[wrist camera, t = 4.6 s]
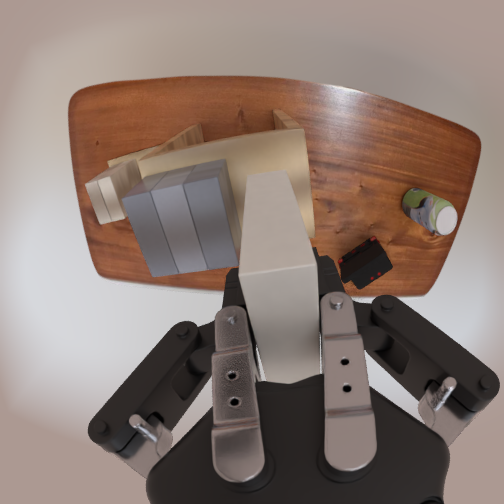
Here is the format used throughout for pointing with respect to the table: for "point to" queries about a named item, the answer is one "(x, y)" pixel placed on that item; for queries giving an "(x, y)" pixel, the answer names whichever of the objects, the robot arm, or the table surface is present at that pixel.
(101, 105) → the table surface
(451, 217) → the beverage can
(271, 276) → the white book
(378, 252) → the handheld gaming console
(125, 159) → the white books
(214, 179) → the wooden stand
